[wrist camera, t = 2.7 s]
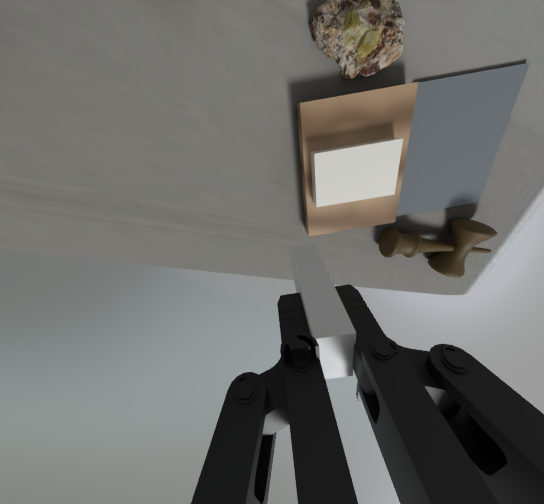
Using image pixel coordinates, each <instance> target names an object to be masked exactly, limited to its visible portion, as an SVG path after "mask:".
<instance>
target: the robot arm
mask: <svg viewBox="0 0 544 504" xmlns="http://www.w3.org/2000/svg"><path fill="white" fill-rule="evenodd" d="M290 252H291V260H292V269H293V277H294V283H295V287H296V292H297V293H294V294H287V295H281V296H280V299H279V301H278V312H279V322H280V331H281V340H282V344H281V349H280V351H281V358H280V360H279V361H278V363H277V364H276V365H275V366H274V367H272V368H271V369H269V370H267V371H265V372H263V373H261V374H259V375H258V374H256V373H253V372H247V373H243V374H241V375H239V376H238V377H236V379H234V381H232V383H231V385H230V387H229V389H228V391H227V394H226V398H225V401H224V404H223V407H222V410H221V413H220V416H219V419H218V422H217V425H216V428H215V431H214V434H213V438H212V441H211V444H210V447H209V450H208V453H207V456H206V459H205V462H204V465H203V469H202V471H201V474H200V477H199V481H198V484H197V487H196V490H195V493H194V496H193V499H192V502H191V504H267V500H268V493H269V485H270V477H271V469H272V462H273V454H274V446H275V439H276V432H277V431H279V430H280V429H282V428H284V427H285V426H287V425H289V424H290V432H291V442H292V451H293V460H294V469H295V479H296V488H297V496H298V504H358V502H357V498H356V494H355V490H354V487H353V483H352V479H351V475H350V471H349V468H348V464H347V460H346V457H345V453H344V449H343V445H342V442H341V438H340V434H339V430H338V426H337V422H336V419H335V415H334V411H333V408H332V404H331V400H330V396H329V392H328V389H327V385H326V381H325V379H331V378H338V377H345V376H352V375H353V369H354V372H355V374H356V377H357V379H358V383H357V393H356V395H357V400H358V401H360V398H361V399H362V402H363V404H364V407H365V410H366V413H367V415H368V418H369V421H370V423H371V426H372V429H373V431H374V434H375V437H376V439H377V442H378V445H379V448H380V450H381V453H382V456H383V458H384V461H385V464H386V466H387V469H388V472H389V474H390V477H391V480H392V482H393V485H394V488H395V490H396V493H397V496H398V498H399V501H400V503H401V504H544V414H543V413H541V412H540V411H539V410H538V409H536V408H535V407H534V406H533V405H532V404H530V403H529V402H528V401H526V400H525V399H524V398H523V397H522V396H521V395H519V394H518V393H517V392H516V391H514V390H513V389H512V388H511V387H509V386H508V385H507V384H506V383H505V382H503V381H502V380H501V379H500V378H498V377H497V376H496V375H495V374H493V373H492V372H491V371H490V370H488V369H487V368H486V367H485V366H484V365H482V364H481V363H480V362H479V361H477V360H476V359H475V358H474V357H472V356H471V355H470V354H468V353H467V352H465V351H464V350H462V349H460V348H458V347H455V346H453V345H447V344H438V345H435V346H434V347H432V348H431V349H430V352H429V351H422V350H416V349H409V348H405V347H402V346H399V345H397V344H396V343H395V342H394V341H393V340H391V339H389V338H388V337H386V335H385V334H384V333H383V331H382V330H381V328H380V326H379V325H378V323H377V321H376V319H375V318H374V316H373V314H372V313H371V311H370V310H369V308H368V307H367V305H366V303H365V301H364V300H363V298H362V296H361V295H360V293H359V291H358V290H357V289H355V288H354V287H353V286H351V285H350V284H349V285H342V286H336V287H335V286H334V284H333V282H332V280H331V278H330V276H329V274H328V272H327V269H326V267H325V265H324V263H323V261H322V259H321V257H320V255H319V252H318V250H317V248H316V246H315V244H314V243H311V244H304V245H298V246H292V247H290Z"/></svg>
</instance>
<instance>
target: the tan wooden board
mask: <svg viewBox="0 0 544 504" xmlns="http://www.w3.org/2000/svg"><path fill="white" fill-rule="evenodd" d="M417 88H418V82H415V83H409V84H404V85H398V86H392V87H387V88H381V89H376V90H370V91H364V92H359V93H353V94H348V95H342V96H336V97H331V98H325V99H320V100H314V101H308V102H303V103H299V104H297V118H298V131H299V145H300V158H301V172H302V185H303V199H304V212H305V226H306V231H307V233H308V236H314V235H320V234H326V233H333V232H339V231H345V230H351V229H357V228H363V227H370V226H376V225H382V224H388V223H394V222H395V220H396V214H397V208H398V202H399V196H400V190H401V184H402V178H403V172H404V166H405V160H406V154H407V148H408V142H409V136H410V130H411V124H412V118H413V112H414V106H415V100H416V94H417ZM388 138H403V143H402V150H401V156H400V163H399V169H398V176H397V182H396V189H395V195H388V196H382V197H376V198H370V199H364V200H358V201H352V202H346V203H340V204H334V205H328V206H322V207H316V206H315V205H314V203H313V187H312V167H311V152H313V151H319V150H325V149H330V148H336V147H342V146H348V145H354V144H359V143H365V142H371V141H377V140H383V139H388Z"/></svg>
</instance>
